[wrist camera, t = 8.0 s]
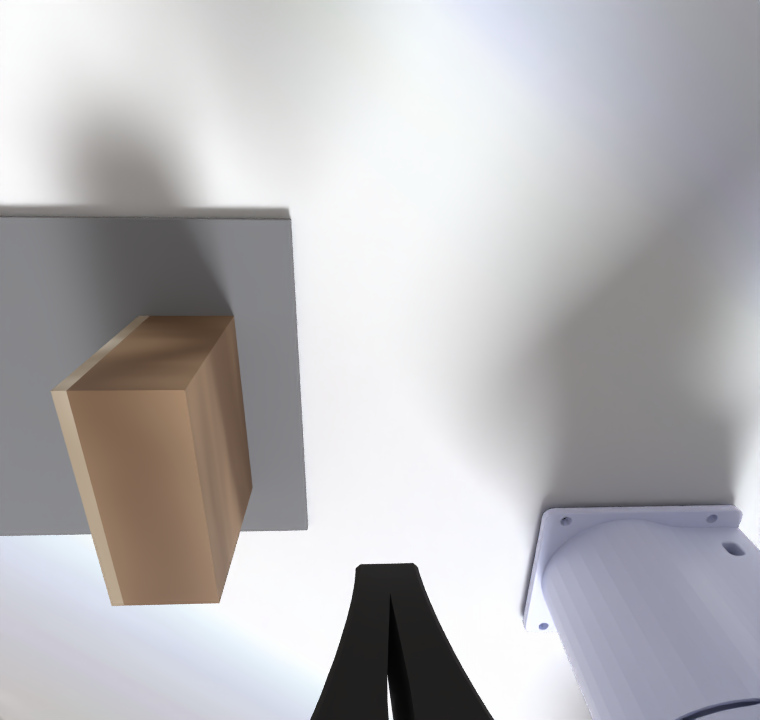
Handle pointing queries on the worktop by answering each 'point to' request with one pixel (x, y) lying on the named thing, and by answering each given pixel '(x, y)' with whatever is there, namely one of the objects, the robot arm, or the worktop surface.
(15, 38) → the worktop surface
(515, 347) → the worktop surface
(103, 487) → the brown wooden block
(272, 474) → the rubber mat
